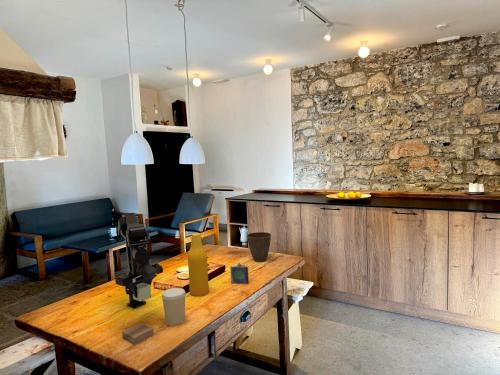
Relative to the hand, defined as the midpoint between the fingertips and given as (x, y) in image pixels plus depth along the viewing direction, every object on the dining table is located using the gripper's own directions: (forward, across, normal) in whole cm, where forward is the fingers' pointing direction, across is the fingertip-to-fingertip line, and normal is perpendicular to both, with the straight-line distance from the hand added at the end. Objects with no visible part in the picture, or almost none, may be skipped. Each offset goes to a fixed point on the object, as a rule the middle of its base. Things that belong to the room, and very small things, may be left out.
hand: (141, 295), depth 139 cm
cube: (+1, 0, 0) cm, 1 cm away
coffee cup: (+12, +8, -10) cm, 17 cm away
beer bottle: (+11, +33, +2) cm, 35 cm away
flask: (+11, +53, -7) cm, 55 cm away
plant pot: (+11, +88, +6) cm, 89 cm away
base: (+12, -8, -7) cm, 16 cm away
